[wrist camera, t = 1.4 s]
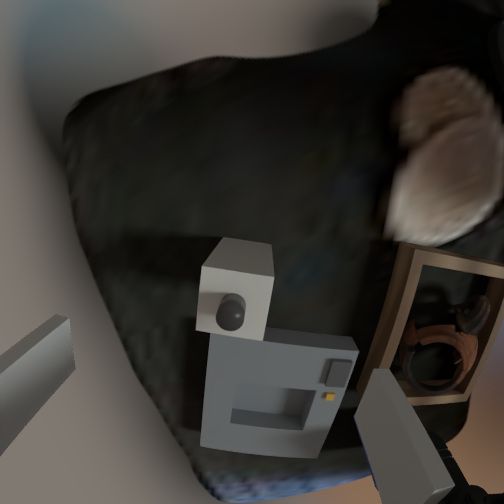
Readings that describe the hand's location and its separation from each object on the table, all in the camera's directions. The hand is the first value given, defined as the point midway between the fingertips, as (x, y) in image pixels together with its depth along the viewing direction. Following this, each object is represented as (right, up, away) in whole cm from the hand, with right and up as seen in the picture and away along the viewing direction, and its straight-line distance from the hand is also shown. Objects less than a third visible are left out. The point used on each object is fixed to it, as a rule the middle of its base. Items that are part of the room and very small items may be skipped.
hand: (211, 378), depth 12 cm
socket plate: (+4, -10, +20) cm, 23 cm away
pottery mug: (+23, -4, +18) cm, 29 cm away
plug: (+1, +4, +17) cm, 18 cm away
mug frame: (+22, -3, +18) cm, 29 cm away
